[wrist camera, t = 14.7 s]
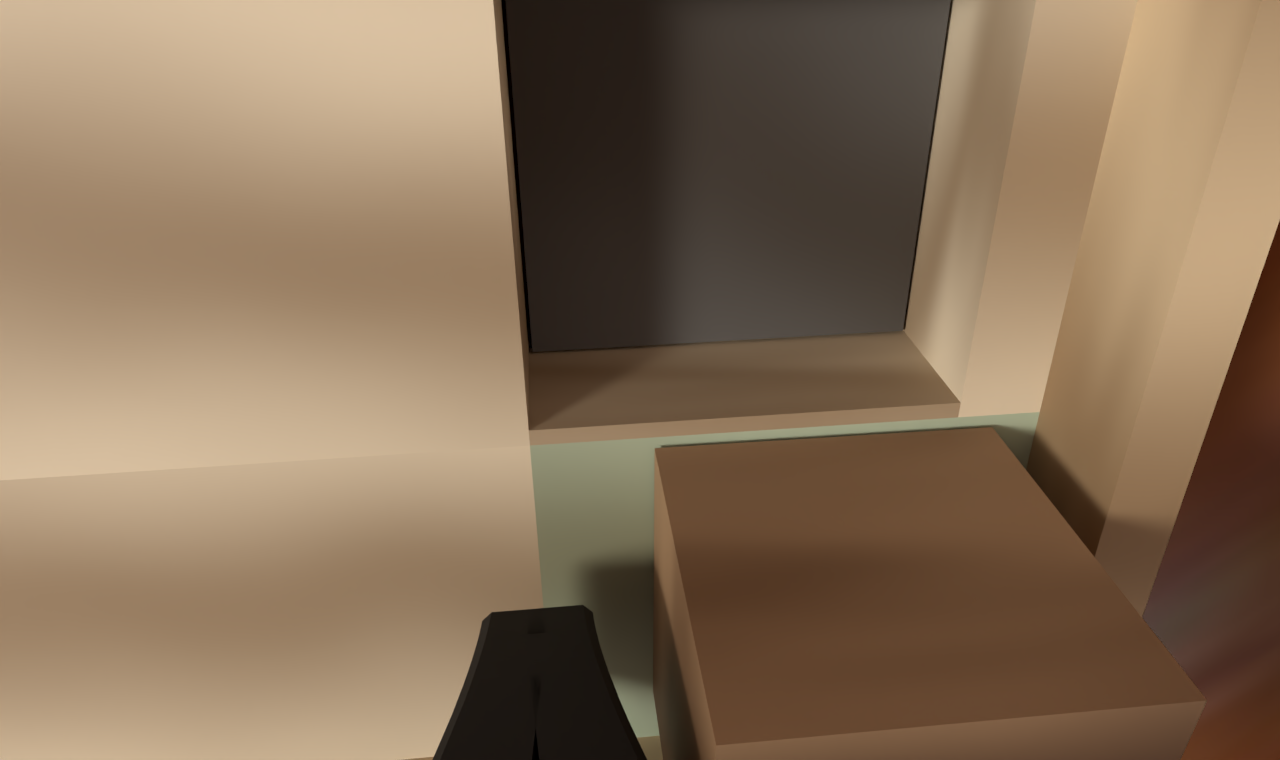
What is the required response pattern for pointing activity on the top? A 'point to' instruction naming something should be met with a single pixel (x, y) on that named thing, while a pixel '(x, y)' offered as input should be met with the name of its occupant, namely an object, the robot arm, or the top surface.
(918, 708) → the walnut block
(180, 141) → the birch tray
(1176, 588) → the top surface
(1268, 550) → the top surface
